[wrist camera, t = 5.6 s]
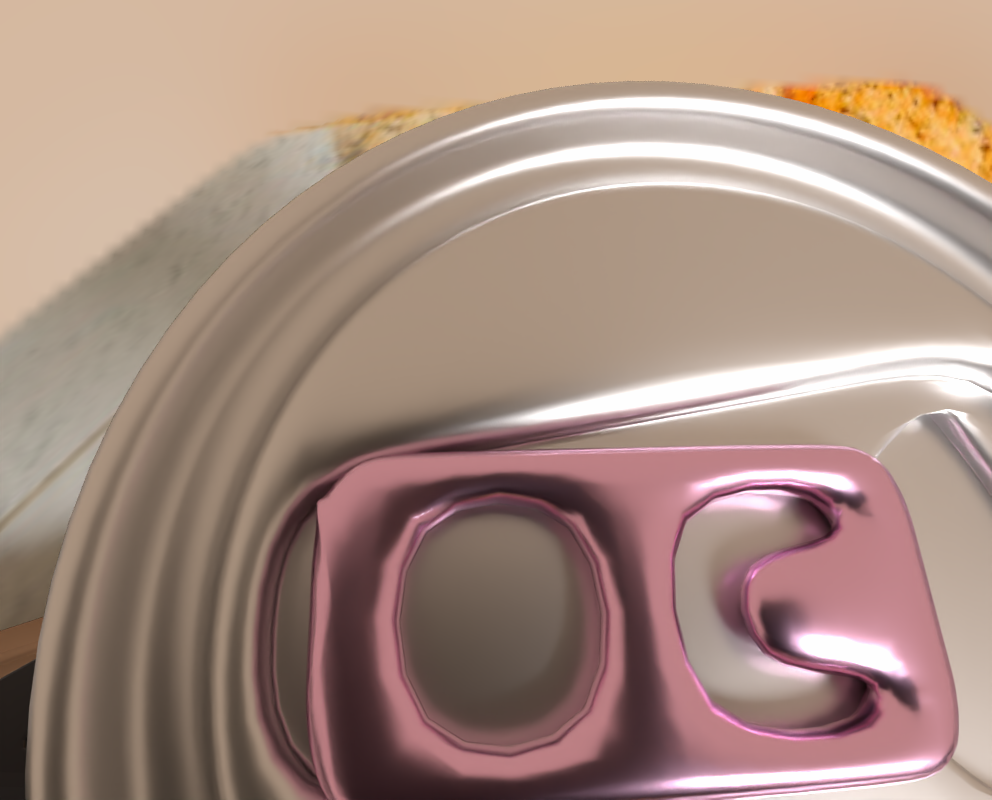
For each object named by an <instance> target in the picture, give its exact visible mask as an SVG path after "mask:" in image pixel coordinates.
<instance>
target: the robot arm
mask: <svg viewBox="0 0 992 800" xmlns="http://www.w3.org/2000/svg"><path fill="white" fill-rule="evenodd" d="M35 662H36V659H34V660H33V661H31V662H29V663H27V664H25V665H24V666H22V667H20V668H18V669H17V670H15V671H13V672H11V673H9V674H8V675H6V676H4V677H2V678H0V800H25V767H26V751H27V735H28V719H29V705H30V698H31V690H32V683H33V676H34V669H35Z"/></svg>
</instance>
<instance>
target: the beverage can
mask: <svg viewBox="0 0 992 800" xmlns="http://www.w3.org/2000/svg"><path fill="white" fill-rule="evenodd" d="M25 800H992V183H990V182H988V181H987V180H985V179H983V178H981V177H980V176H978V175H976V174H975V173H973V172H971V171H970V170H968V169H966V168H964V167H963V166H961V165H959V164H957V163H955V162H953V161H951V160H949V159H947V158H945V157H943V156H941V155H939V154H937V153H935V152H933V151H932V150H930V149H928V148H925V147H923V146H921V145H919V144H917V143H914V142H912V141H910V140H908V139H905V138H903V137H901V136H899V135H896V134H894V133H892V132H890V131H887V130H884V129H882V128H879V127H877V126H874V125H871V124H869V123H866V122H863V121H861V120H858V119H856V118H853V117H850V116H847V115H843V114H840V113H837V112H834V111H831V110H828V109H825V108H822V107H818V106H815V105H811V104H807V103H803V102H799V101H795V100H791V99H787V98H784V97H780V96H775V95H769V94H764V93H759V92H754V91H749V90H744V89H737V88H729V87H722V86H714V85H706V84H695V83H681V82H665V81H626V82H607V83H590V84H582V85H573V86H565V87H557V88H550V89H545V90H540V91H535V92H529V93H524V94H518V95H514V96H510V97H506V98H502V99H499V100H495V101H491V102H487V103H483V104H479V105H476V106H473V107H470V108H467V109H464V110H461V111H458V112H455V113H452V114H449V115H446V116H443V117H440V118H438V119H436V120H433V121H431V122H428V123H426V124H424V125H421V126H419V127H416V128H414V129H412V130H409V131H407V132H404V133H402V134H400V135H398V136H396V137H394V138H392V139H390V140H388V141H386V142H384V143H382V144H380V145H378V146H376V147H374V148H372V149H370V150H368V151H367V152H365V153H363V154H362V155H360V156H358V157H356V158H355V159H353V160H351V161H350V162H348V163H346V164H345V165H343V166H341V167H340V168H338V169H336V170H335V171H333V172H331V173H330V174H329V175H327V176H326V177H324V178H323V179H321V180H320V181H318V182H317V183H316V184H314V185H313V186H311V187H310V188H308V189H307V190H306V191H304V192H303V193H301V194H300V195H298V196H297V197H296V198H295V199H293V200H292V201H291V202H290V203H288V204H287V205H286V206H285V207H283V208H282V209H281V210H280V211H279V212H277V213H276V214H275V215H274V216H272V217H271V218H270V219H269V220H267V221H266V222H265V223H264V224H263V225H261V226H260V227H259V228H258V229H257V230H256V231H255V232H254V233H253V234H252V235H251V236H250V237H249V238H248V239H247V240H246V241H245V242H243V243H242V244H241V245H240V246H239V247H238V248H237V249H236V250H235V251H234V252H233V253H232V254H231V255H230V256H229V257H228V258H227V259H226V260H225V261H224V262H223V263H222V264H221V266H220V267H219V268H218V269H217V270H216V271H215V272H214V273H213V274H212V275H211V277H210V278H209V279H208V280H207V281H206V282H205V283H204V284H203V285H202V286H201V288H200V289H199V290H198V291H197V292H196V293H195V295H194V296H193V297H192V298H191V300H190V301H189V302H188V304H187V305H186V306H185V307H184V309H183V310H182V311H181V313H180V314H179V315H178V316H177V318H176V319H175V320H174V321H173V323H172V324H171V325H170V327H169V328H168V329H167V331H166V332H165V334H164V335H163V337H162V338H161V340H160V341H159V343H158V344H157V346H156V347H155V349H154V350H153V352H152V353H151V355H150V356H149V358H148V359H147V361H146V362H145V364H144V365H143V366H142V368H141V369H140V371H139V373H138V374H137V376H136V378H135V380H134V382H133V383H132V385H131V387H130V389H129V390H128V392H127V394H126V396H125V397H124V399H123V401H122V403H121V404H120V406H119V408H118V410H117V412H116V413H115V415H114V417H113V419H112V421H111V423H110V425H109V427H108V429H107V432H106V434H105V436H104V438H103V440H102V442H101V444H100V447H99V449H98V451H97V453H96V455H95V457H94V459H93V461H92V464H91V466H90V468H89V470H88V473H87V476H86V478H85V481H84V484H83V486H82V489H81V491H80V494H79V497H78V499H77V502H76V505H75V507H74V510H73V512H72V515H71V518H70V520H69V523H68V527H67V530H66V533H65V537H64V540H63V543H62V547H61V550H60V554H59V557H58V560H57V564H56V567H55V570H54V574H53V577H52V581H51V585H50V590H49V594H48V599H47V604H46V608H45V613H44V617H43V622H42V627H41V631H40V636H39V640H38V647H37V654H36V662H35V669H34V676H33V683H32V690H31V698H30V705H29V719H28V735H27V751H26V767H25Z"/></svg>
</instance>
